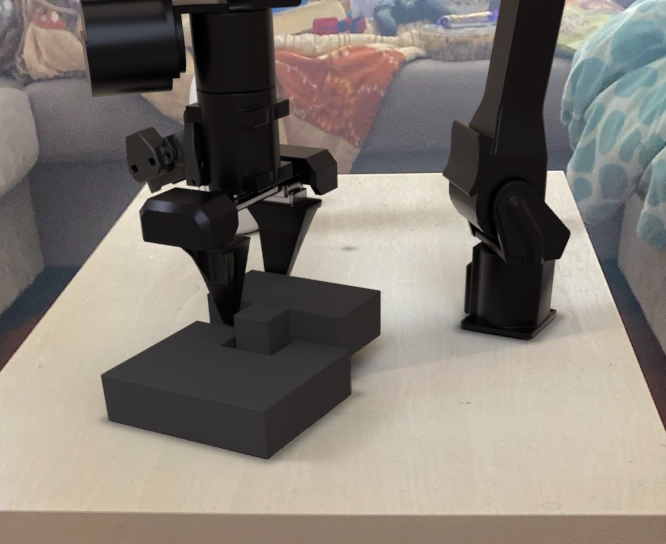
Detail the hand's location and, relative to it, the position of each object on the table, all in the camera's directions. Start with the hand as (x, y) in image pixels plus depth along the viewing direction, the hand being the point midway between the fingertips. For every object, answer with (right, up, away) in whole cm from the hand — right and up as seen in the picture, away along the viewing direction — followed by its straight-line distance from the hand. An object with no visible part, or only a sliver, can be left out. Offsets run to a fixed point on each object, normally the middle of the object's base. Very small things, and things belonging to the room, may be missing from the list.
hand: (253, 309), depth 84 cm
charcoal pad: (-1, -10, -6) cm, 11 cm away
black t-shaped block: (+3, -3, -1) cm, 4 cm away
